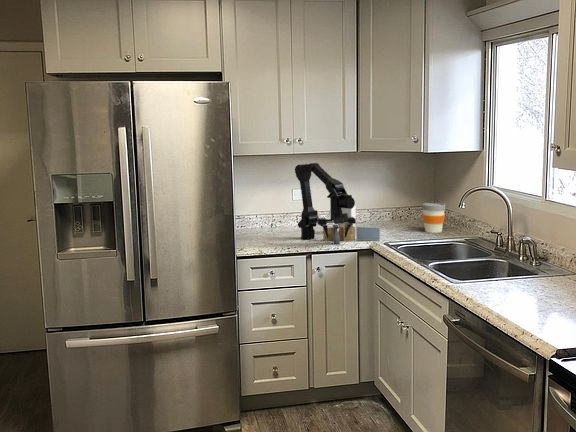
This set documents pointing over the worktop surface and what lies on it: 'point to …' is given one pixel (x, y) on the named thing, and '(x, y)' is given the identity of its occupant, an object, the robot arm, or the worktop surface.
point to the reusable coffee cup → (433, 216)
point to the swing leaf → (368, 233)
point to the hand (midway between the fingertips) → (336, 237)
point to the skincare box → (349, 214)
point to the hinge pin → (336, 234)
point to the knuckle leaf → (349, 236)
